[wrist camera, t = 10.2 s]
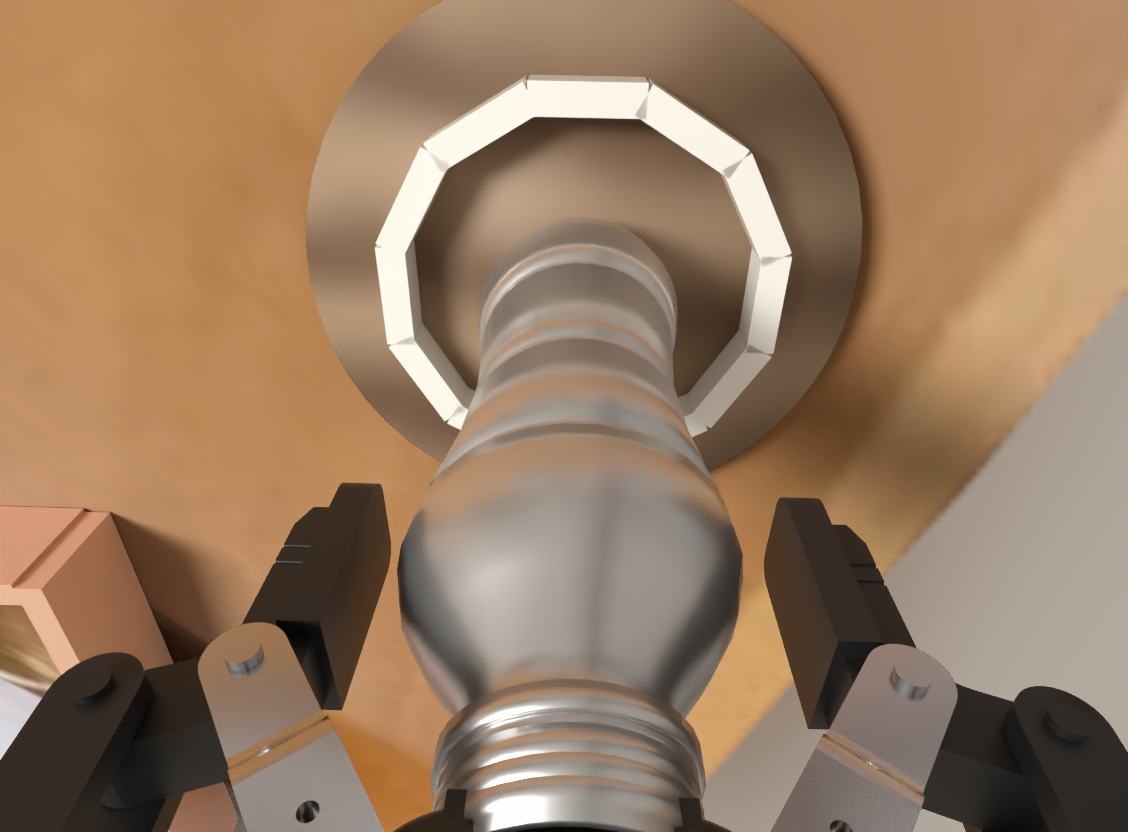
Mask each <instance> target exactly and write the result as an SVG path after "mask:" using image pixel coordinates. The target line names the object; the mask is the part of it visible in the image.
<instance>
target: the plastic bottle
mask: <svg viewBox="0 0 1128 832" xmlns="http://www.w3.org/2000/svg"><path fill="white" fill-rule="evenodd" d="M677 316H678V311H677V297H676V292H675V289H674V286H673V283H672V279H671V277H670V275H669V273H668V272H667V270H666V268H665V266H664V265H663V263H662V261H661V260H660V259H659V258H658V257H657V256H656V255H655V254H654V253H653V251H652V250H651V249H650V248H649V247H648V246H647V245H646V244H645V243H644V242H643V241H642V239H640V238H639V237H637V236H636V235H635V234H633V233H632V232H630V231H629V230H628V229H625V228H623V227H621V226H619V225H616V224H614V223H612V222H608V221H603V220H599V219H594V218H571V219H565V220H559V221H555V222H552V223H549V224H547V225H544V226H541V227H539V228H537V229H535V230H534V231H532V232H531V233H529V234H527V235H526V236H524V237H523V238H522V239H521V240H520V241H518V242H517V243H516V244H515V245H514V246H513V247H512V248H511V249H510V250H509V251H508V252H507V253H506V254H505V255H504V256H503V257H502V258H501V260H500V261H499V262H498V264H497V265H496V266H495V268H494V269H493V271H492V272H491V273H490V275H489V278H488V280H487V282H486V284H485V287H484V289H483V292H482V297H481V302H480V307H479V345H480V350H481V360H480V369H479V379H478V385H477V388H476V391H475V393H474V396H473V400H472V402H471V404H470V406H469V409H468V412H467V414H466V417H465V420H464V423H463V425H462V428H461V431H460V432H459V434H458V436H457V438H456V439H455V441H454V443H453V445H452V446H451V448H450V450H449V452H448V454H447V455H446V457H445V459H444V461H443V462H442V464H441V466H440V468H439V469H438V471H437V473H436V475H435V477H434V478H433V480H432V482H431V484H430V486H429V488H428V490H427V491H426V492H425V494H424V496H423V498H422V500H421V502H420V504H419V506H418V509H417V511H416V513H415V515H414V517H413V520H412V522H411V525H410V527H409V529H408V532H407V534H406V536H405V539H404V541H403V543H402V545H401V550H400V556H399V562H398V568H397V575H398V589H399V603H400V614H401V623H402V630H403V632H404V635H405V638H406V640H407V643H408V645H409V648H410V650H411V652H412V654H413V656H414V658H415V660H416V662H417V664H418V666H419V668H420V670H421V672H422V674H423V676H424V678H425V680H426V682H427V683H428V685H429V687H430V689H431V690H432V692H433V693H434V695H435V696H436V697H437V699H438V700H439V702H440V703H441V705H442V706H443V707H444V709H445V710H446V712H447V713H448V715H449V716H450V717H451V720H449V721H448V723H447V724H446V726H445V728H444V729H443V731H442V732H441V734H440V735H439V738H438V742H437V746H436V750H435V755H434V761H433V767H432V773H431V788H432V794H433V796H434V804H433V810H432V812H434V811H438V810H441V809H444V804H445V798H446V792H447V789H467V796H466V803H465V810H464V816H463V821H473V832H516V831H521V830H526V829H533V828H547V827H589V828H596V829H604V830H611V831H618V832H674V829H683V823H682V817H681V811H680V805H679V797H683V798H699V800H700V807H701V815H702V819H704V820H705V817H704V811H703V805H702V798H703V795H704V791H705V788H706V781H705V770H704V764H703V758H702V752H701V747H700V742H699V740H698V738H697V736H696V733H695V731H694V729H693V728H692V726H691V725H690V724H689V723H688V722H687V721H686V719H685V718H686V717H687V715H688V714H689V712H690V711H691V710H692V708H693V707H694V705H695V704H696V703H697V701H698V700H699V698H700V697H701V696H702V694H703V692H704V691H705V689H706V687H707V685H708V684H709V682H710V680H711V678H712V676H713V674H714V673H715V671H716V669H717V667H718V665H719V663H720V661H721V659H722V657H723V655H724V653H725V651H726V649H727V647H728V645H729V643H730V642H731V640H732V637H733V633H734V630H735V626H736V622H737V618H738V613H739V606H740V598H741V591H742V584H743V554H742V551H741V548H740V545H739V542H738V538H737V535H736V532H735V529H734V527H733V524H732V522H731V519H730V517H729V514H728V511H727V508H726V505H725V502H724V500H723V498H722V497H721V495H720V493H719V491H718V488H717V486H716V484H715V482H714V480H713V478H712V476H711V475H710V473H709V471H708V469H707V467H706V465H705V463H704V461H703V459H702V457H701V455H700V453H699V451H698V449H697V447H696V445H695V443H694V441H693V439H692V437H691V435H690V433H689V431H688V429H687V426H686V423H685V419H684V416H683V413H682V410H681V407H680V404H679V400H678V397H677V394H676V390H675V387H674V380H673V356H672V354H673V350H674V346H675V339H676V332H677Z"/></svg>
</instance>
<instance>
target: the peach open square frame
mask: <svg viewBox="0 0 1128 832" xmlns="http://www.w3.org/2000/svg"><path fill="white" fill-rule="evenodd" d="M0 605H22V606H23V608H24V609H25V611H26V613H27V615H28V617H29V618H30V620H31V622H32V624H33V626H34V627H35V629H36V631H37V633H38V634H39V636H40V638H41V640H42V642H43V643H44V645H45V647H46V649H47V651H48V652H49V654H50V656H51V658H52V659H53V661H54V663H55V665H56V667H57V668H58V670H59V672H60V674H61V675H62V674H63V673H65V672H66V671H67V670H69V669H70V668H72V667H73V666H75V665H76V664H78V663H80V662H82V661H84V660H86V659H89V658H91V657H94V656H97V655H100V654H105V653H112V652H122V653H127V654H131V655H133V656H135V657H136V658H137V659H139V661H140V662H141V664H142V665H143V667H144V670H147V669H152V668H156V667H160V666H165V665H169V664H173V660H172V658H171V656H170V653H169V651H168V649H167V646H166V644H165V642H164V639H163V637H162V634H161V632H160V630H159V627H158V625H157V623H156V620H155V618H154V616H153V613H152V611H151V608H150V606H149V604H148V601H147V599H146V597H145V594H144V592H143V590H142V587H141V585H140V582H139V580H138V578H137V575H136V573H135V571H134V568H133V566H132V564H131V561H130V559H129V557H128V554H127V552H126V549H125V547H124V545H123V542H122V540H121V538H120V535H119V533H118V531H117V528H116V526H115V523H114V521H113V519H112V516H111V514H110V512H85V510H84V508H50V507H15V506H0ZM238 820H239V816H238V814H237V811H236V809H235V807H234V804H233V802H232V800H231V797H230V795H229V793H228V790H227V788H226V786H225V783H224V782H221V783H218V784H214V785H210V786H207V787H203V788H200V789H196V790H192V791H189V792H185V793H184V795H183V797H182V800H181V802H180V805H179V807H178V809H177V812H176V814H175V816H174V819H173V821H172V823H171V826H170V828H169V830H168V832H234V829H235V827H236V824H237V822H238Z"/></svg>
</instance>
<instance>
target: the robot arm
mask: <svg viewBox="0 0 1128 832" xmlns="http://www.w3.org/2000/svg"><path fill="white" fill-rule="evenodd" d="M390 556H391V540H390V533H389V527H388V520H387V514H386V508H385V501H384V495H383V490H382V487H381V485H380V484H370V483H342V484H341V485H340V486H339V488H338V490H337V492H336V494H335V496H334V498H333V500H332V502H331V504H330V506H329V507H314V508H312V509H311V510H310V511H309V512H308V513H307V514H306V515H304V516H303V517H302V518H301V519H300V520H299V521H298V522H296V523H295V524H294V526H293V528H292V530H291V532H290V534H289V536H288V538H287V539H286V541H285V543H284V548H282V549H281V551H280V553H279V555H278V557H277V558H276V563H275V564H273V566H272V568H271V570H270V572H269V574H268V576H267V577H266V579H265V581H264V583H263V585H262V587H261V589H260V591H259V593H258V595H257V596H256V598H255V600H254V602H253V604H252V606H251V608H250V610H249V612H248V614H247V616H246V617H245V619H244V621H243V623H242V625H240V626H237V627H234V628H232V629H230V630H228V631H226V632H224V633H223V634H221V635H220V636H218V637H217V638H216V639H215V640H213V641H212V642H211V643H210V644H209V645H208V646H207V648H206V649H205V651H204V652H203V654H202V656H199V657H197V658H194V659H190V660H186V661H182V662H178V663H173V664H169V665H165V666H160V667H156V668H152V669H147V670H144V667H143V665H142V664H141V662H140V661H139V659H137V658H136V657H135V656H133V655H131V654H127V653H122V652H112V653H105V654H100V655H97V656H94V657H91V658H89V659H86V660H84V661H82V662H80V663H78V664H76V665H75V666H73V667H72V668H70V669H69V670H67V671H66V672H65V673H63V674H62V675H61V676H60V677H59V678H58V679H57V680H56V681H55V682H54V683H53V684H52V685H51V687H50V688H49V689H48V691H47V692H46V694H45V695H44V697H43V698H42V700H41V701H40V703H39V704H38V706H37V707H36V708H35V710H34V711H33V713H32V714H31V716H30V717H29V719H28V720H27V722H26V723H25V725H24V726H23V728H22V729H21V731H20V732H19V734H18V735H17V737H16V738H15V740H14V741H13V743H12V744H11V745H10V747H9V748H8V750H7V751H6V753H5V754H4V756H3V757H2V759H1V760H0V832H168V830H169V828H170V826H171V823H172V821H173V819H174V816H175V814H176V812H177V809H178V807H179V805H180V802H181V800H182V797H183V795H184V793H185V792H189V791H192V790H196V789H200V788H203V787H207V786H210V785H214V784H218V783H221V782H225V781H228V780H230V781H231V784H232V787H233V791H234V794H235V797H236V800H237V803H238V806H239V809H240V812H241V815H242V819H243V822H244V825H245V828H246V831H247V832H384V830H383V827H382V825H381V823H380V821H379V819H378V817H377V815H376V813H375V811H374V809H373V807H372V804H371V802H370V800H369V798H368V796H367V794H366V792H365V790H364V788H363V786H362V784H361V782H360V779H359V777H358V775H357V773H356V771H355V769H354V767H353V765H352V763H351V761H350V759H349V757H348V754H347V752H346V750H345V748H344V746H343V744H342V742H341V740H340V738H339V736H338V734H337V731H336V729H335V727H334V725H333V724H332V722H331V720H330V718H329V717H328V716H326V717H325V716H324V714H323V712H322V710H342V708H343V705H344V702H345V699H346V696H347V693H348V690H349V687H350V684H351V681H352V678H353V675H354V672H355V669H356V666H357V663H358V660H359V657H360V654H361V651H362V648H363V645H364V642H365V639H366V636H367V633H368V629H369V626H370V623H371V620H372V617H373V614H374V611H375V608H376V605H377V602H378V599H379V596H380V593H381V590H382V587H383V584H384V581H385V578H386V575H387V572H388V568H389V563H390ZM764 574H765V581H766V586H767V589H768V593H769V596H770V599H771V603H772V606H773V610H774V613H775V617H776V620H777V623H778V627H779V630H780V634H781V637H782V641H783V644H784V648H785V651H786V654H787V658H788V661H789V665H790V668H791V672H792V675H793V678H794V682H795V685H796V688H797V692H798V696H799V699H800V702H801V706H802V709H803V713H804V716H805V719H806V723H807V726H808V729H829V731H828V732H827V734H823V736H822V738H821V739H820V741H819V742H818V744H817V746H816V748H815V750H814V752H813V753H812V755H811V757H810V759H809V761H808V763H807V765H806V767H805V768H804V770H803V772H802V774H801V776H800V778H799V780H798V782H797V783H796V785H795V787H794V789H793V791H792V793H791V795H790V797H789V798H788V800H787V802H786V804H785V806H784V808H783V810H782V812H781V813H780V815H779V817H778V819H777V821H776V823H775V825H774V827H773V828H772V830H771V832H913V829H914V827H915V824H916V821H917V818H918V816H919V813H920V810H921V808H922V809H925V810H928V811H931V812H934V813H937V814H939V815H942V816H945V817H948V818H951V819H954V820H956V821H959V822H962V823H963V825H964V828H965V830H966V832H1128V752H1127V751H1126V749H1125V748H1124V746H1123V744H1122V743H1121V741H1120V740H1119V738H1118V736H1117V735H1116V733H1115V732H1114V730H1113V729H1112V727H1111V726H1110V724H1109V723H1108V722H1107V721H1106V719H1105V718H1104V717H1103V716H1102V715H1101V714H1100V713H1099V712H1098V711H1096V710H1095V709H1094V708H1093V707H1091V706H1090V705H1089V704H1087V703H1086V702H1084V701H1082V700H1081V699H1079V698H1078V697H1076V696H1074V695H1072V694H1070V693H1067V692H1065V691H1062V690H1059V689H1055V688H1052V687H1045V686H1034V687H1029V688H1026V689H1024V690H1023V691H1021V692H1020V693H1019V694H1018V696H1017V697H1016V699H1015V700H1014V702H1012V701H1009V700H1005V699H1002V698H998V697H995V696H992V695H989V694H985V693H982V692H978V691H975V690H972V689H969V688H966V687H963V686H961V685H959V684H957V683H955V682H954V680H953V678H952V676H951V675H950V673H949V672H948V671H947V670H946V668H945V667H944V666H943V665H942V664H940V663H939V662H938V661H937V660H936V659H934V658H933V657H931V656H930V655H928V654H926V653H925V652H923V651H921V650H918V649H917V648H916V646H915V644H914V642H913V640H912V638H911V636H910V634H909V632H908V630H907V627H906V625H905V623H904V621H903V619H902V617H901V615H900V613H899V611H898V609H897V607H896V605H895V603H894V601H893V599H892V597H891V595H890V592H889V590H888V588H887V586H884V580H883V578H882V576H881V574H880V572H879V570H878V568H876V564H875V562H874V559H873V557H872V555H871V553H870V551H869V549H868V547H867V545H866V543H865V542H864V541H863V540H861V539H860V538H859V537H858V536H857V535H856V534H855V533H854V532H853V531H852V530H851V529H850V528H849V527H848V526H847V525H832V524H831V521H830V519H829V517H828V515H827V512H826V510H825V508H824V505H823V503H822V502H821V500H819V499H814V498H780V499H779V500H778V502H777V505H776V509H775V514H774V518H773V522H772V526H771V531H770V535H769V539H768V543H767V547H766V552H765V558H764ZM466 796H467V789H447V792H446V798H445V804H444V809H441V810H438V811H434V812H431V813H428V814H425V815H423V816H420V817H418V818H416V819H414V820H412V821H410V822H408V823H406V824H404V825H402V826H401V827H399V828H398V829H396V830H395V831H393V832H473V821H463V816H464V810H465V803H466ZM679 805H680V811H681V817H682V823H683V829H674V832H731V831H730V830H728V829H726V828H724V827H722V826H719V825H717V824H715V823H713V822H710V821H707V820H704V819H702V815H701V807H700V800H699V798H683V797H679ZM516 832H618V831H611V830H604V829H596V828H589V827H547V828H533V829H526V830H521V831H516Z"/></svg>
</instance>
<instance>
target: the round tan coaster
mask: <svg viewBox="0 0 1128 832" xmlns="http://www.w3.org/2000/svg"><path fill="white" fill-rule="evenodd" d="M530 75H575V76H624V77H645V78H646V79H647V81H648V80H649V78H650V79H651V80H653V81H654V82H655V83H657V84H658V85H660V86H661V87H663V88H664V89H666V90H667V91H669V92H670V93H671V94H673V95H674V96H676V97H677V98H679V99H680V100H682V101H683V102H684V103H686V104H687V105H689V106H690V107H692V108H693V109H695V110H696V111H698V112H699V113H700V114H702V115H703V116H705V117H706V118H708V119H709V120H711V121H712V122H713V123H715V124H716V125H718V126H719V127H721V128H722V129H724V130H725V131H727V132H728V133H729V134H731V135H732V136H734V137H735V138H737V139H738V140H740V141H741V142H742V143H743V144H744V145H745V146H746V147H747V148H748V149H749V150H750V152H751V153H752V154H753V157H754V159H755V162H756V164H757V167H758V169H759V172H760V174H761V177H762V179H763V182H764V184H765V187H766V189H767V192H768V194H769V197H770V200H771V202H772V205H773V207H774V210H775V212H776V215H777V217H778V220H779V222H780V225H781V227H782V230H783V232H784V235H785V237H786V240H787V242H788V245H789V247H790V250H791V254H790V255H791V257H792V261H791V266H790V271H789V276H788V281H787V286H786V292H785V297H784V302H783V307H782V312H781V317H780V322H779V327H778V333H777V338H776V343H775V348H774V353H773V354H770V355H771V357H772V358H771V359H770V360H769V361H768V362H767V363H766V365H765V366H764V367H763V368H762V369H761V370H760V372H759V373H758V374H757V375H756V376H755V377H754V379H753V380H752V381H751V382H750V383H749V384H748V386H747V387H746V388H745V389H744V390H743V391H742V393H741V394H740V395H739V396H738V397H737V398H736V400H735V401H734V402H733V403H732V404H731V405H730V407H729V408H728V409H727V410H726V411H725V412H724V414H723V415H722V416H721V417H720V418H719V419H718V421H717V422H716V423H715V424H714V425H713V426H712V428H710V427H708V426H707V429H708V431H705V432H703V433H701V434H698V435H696V436H694V437H692V439H693V441H694V443H695V445H696V447H697V449H698V451H699V453H700V455H701V457H702V459H703V461H704V463H705V465H706V467H707V469H708V471H710V470H712V469H714V468H716V467H718V466H720V465H722V464H723V463H725V462H726V461H728V460H730V459H731V458H733V457H735V456H736V455H738V454H740V453H741V452H743V451H744V450H746V449H747V448H748V447H750V446H751V445H752V444H754V443H755V442H756V441H757V440H759V439H760V438H761V437H763V436H764V435H765V434H767V433H768V432H769V431H770V430H771V429H772V428H773V427H774V426H775V425H776V424H777V423H778V422H779V421H781V420H782V419H783V418H784V417H785V416H786V415H787V414H788V413H789V412H790V411H791V410H792V409H793V408H794V406H795V405H796V404H797V403H798V401H799V400H800V399H801V398H802V396H803V395H804V394H805V393H806V392H807V390H808V389H809V388H810V387H811V385H812V384H813V383H814V381H815V379H816V378H817V376H818V375H819V373H820V371H821V370H822V368H823V367H824V365H825V364H826V362H827V360H828V359H829V357H830V355H831V353H832V351H833V349H834V347H835V345H836V343H837V341H838V338H839V336H840V334H841V332H842V330H843V328H844V325H845V322H846V319H847V316H848V313H849V310H850V307H851V304H852V301H853V297H854V294H855V290H856V284H857V279H858V273H859V268H860V262H861V249H862V226H863V221H862V211H861V201H860V191H859V184H858V180H857V176H856V172H855V167H854V163H853V159H852V155H851V151H850V148H849V145H848V143H847V141H846V138H845V136H844V133H843V131H842V128H841V126H840V124H839V121H838V119H837V116H836V114H835V112H834V110H833V108H832V107H831V105H830V103H829V102H828V100H827V98H826V97H825V95H824V93H823V92H822V90H821V88H820V87H819V85H818V83H817V82H816V80H815V78H814V77H813V76H812V75H811V73H810V72H809V71H808V70H807V69H806V67H805V66H804V65H803V64H802V63H801V61H800V60H799V59H798V58H797V57H796V55H795V54H794V53H793V52H792V51H791V49H790V48H789V47H788V46H787V45H786V44H785V43H784V42H783V41H781V40H780V39H779V38H778V37H777V36H776V35H775V34H773V33H772V32H771V31H770V30H769V29H768V28H767V27H765V26H764V25H763V24H762V23H761V22H760V21H759V20H758V19H756V18H755V17H753V16H752V15H750V14H749V13H747V12H746V11H744V10H742V9H741V8H739V7H738V6H736V5H735V4H733V3H731V2H730V1H728V0H444V1H442V2H440V3H438V4H437V5H435V6H433V7H431V8H430V9H428V10H426V11H425V12H423V13H422V14H421V15H419V16H418V17H417V18H416V19H414V20H413V21H412V22H411V23H410V24H408V25H407V26H406V27H405V28H403V29H402V30H401V31H400V32H398V33H397V34H396V35H395V36H393V37H392V38H391V39H390V40H389V41H388V42H387V43H386V44H385V46H384V47H383V48H382V49H381V50H380V51H379V52H378V53H377V54H376V55H375V56H374V57H373V59H372V60H371V61H370V62H369V63H368V64H367V65H366V66H365V67H364V68H363V70H362V71H361V73H360V74H359V76H358V77H357V79H356V80H355V82H354V83H353V85H352V86H351V88H350V89H349V91H348V92H347V94H346V95H345V96H344V98H343V99H342V101H341V103H340V105H339V107H338V109H337V111H336V113H335V115H334V117H333V119H332V121H331V124H330V126H329V128H328V130H327V132H326V134H325V136H324V139H323V142H322V145H321V148H320V152H319V155H318V158H317V161H316V165H315V168H314V171H313V175H312V181H311V187H310V194H309V200H308V206H307V233H306V248H307V256H308V265H309V273H310V281H311V285H312V289H313V293H314V297H315V301H316V305H317V309H318V312H319V315H320V318H321V320H322V323H323V325H324V328H325V330H326V333H327V335H328V338H329V340H330V343H331V345H332V347H333V349H334V351H335V352H336V354H337V356H338V358H339V360H340V361H341V363H342V365H343V367H344V369H345V371H346V372H347V374H348V375H349V377H350V378H351V379H352V381H353V382H354V384H355V385H356V386H357V388H358V389H359V391H360V392H361V393H362V395H363V396H364V398H365V399H366V400H367V401H368V402H369V403H370V404H371V405H372V406H373V408H374V409H375V410H376V411H377V412H378V413H379V414H380V415H381V416H382V417H383V418H384V420H385V421H386V422H387V423H389V424H390V425H391V426H392V427H393V428H394V429H396V430H397V431H398V432H399V433H400V434H401V435H402V436H404V437H405V438H406V439H407V440H408V441H409V442H411V443H412V444H414V445H415V446H417V447H418V448H419V449H421V450H422V451H424V452H425V453H427V454H428V455H429V456H431V457H432V458H434V459H436V460H437V461H439V462H441V463H442V462H443V461H444V459H445V457H446V455H447V454H448V452H449V450H450V448H451V446H452V445H453V443H454V441H455V439H456V438H457V436H458V434H459V432H460V431H461V430H459V429H457V428H455V427H453V426H451V425H449V424H447V423H448V420H446V421H444V420H443V419H442V417H441V416H440V415H439V413H438V412H437V411H436V409H435V408H434V407H433V405H432V404H431V403H430V401H429V400H428V399H427V397H426V396H425V395H424V394H423V392H422V391H421V390H420V388H419V387H418V386H417V384H416V383H415V382H414V380H413V379H412V378H411V376H410V375H409V374H408V372H407V371H406V370H405V368H404V367H403V366H402V364H401V363H400V362H399V360H398V359H397V358H396V356H395V355H394V354H393V353H392V351H391V350H390V349H389V346H390V345H391V344H387V338H386V330H385V322H384V315H383V307H382V300H381V292H380V284H379V277H378V269H377V261H376V254H375V247H376V245H377V244H375V243H376V241H377V239H378V237H379V234H380V232H381V230H382V228H383V226H384V224H385V222H386V219H387V217H388V215H389V213H390V211H391V209H392V206H393V204H394V202H395V200H396V198H397V196H398V193H399V191H400V189H401V187H402V185H403V183H404V181H405V178H406V176H407V174H408V172H409V170H410V168H411V165H412V163H413V161H414V159H415V157H416V155H417V153H418V150H419V148H420V146H421V145H422V144H423V143H424V142H425V141H426V140H427V139H428V138H429V137H430V136H431V135H432V134H434V133H435V132H437V131H438V130H440V129H442V128H443V127H445V126H446V125H448V124H450V123H451V122H453V121H454V120H456V119H458V118H459V117H461V116H462V115H464V114H466V113H467V112H469V111H470V110H472V109H474V108H475V107H477V106H478V105H480V104H482V103H483V102H485V101H486V100H488V99H490V98H491V97H493V96H495V95H496V94H498V93H499V92H501V91H503V90H504V89H506V88H507V87H509V86H511V85H512V84H514V83H515V82H517V81H519V80H520V79H522V78H523V77H525V76H526V77H527V79H528V78H529V76H530ZM571 218H594V219H599V220H603V221H608V222H612V223H614V224H616V225H619V226H621V227H623V228H625V229H628V230H629V231H630V232H632V233H633V234H635V235H636V236H637V237H639V238H640V239H642V241H643V242H644V243H645V244H646V245H647V246H648V247H649V248H650V249H651V250H652V251H653V253H654V254H655V255H656V256H657V257H658V258H659V259H660V260H661V261H662V263H663V265H664V266H665V268H666V270H667V272H668V273H669V275H670V277H671V279H672V283H673V286H674V289H675V292H676V297H677V311H678V316H677V332H676V339H675V346H674V350H673V354H672V356H673V380H674V387H675V390H676V394H677V397H678V398H679V397H681V396H683V395H685V394H688V393H689V391H690V390H691V389H692V388H693V386H694V385H695V384H696V383H697V382H698V380H699V379H700V378H701V377H702V375H703V374H704V373H705V372H706V370H707V369H708V368H709V367H710V365H711V364H712V363H713V362H714V360H715V359H716V358H717V357H718V356H719V354H720V353H721V352H722V351H723V349H724V348H725V347H726V346H727V344H728V343H729V342H730V341H731V339H732V338H733V337H734V336H735V335H736V333H737V332H738V331H739V325H740V319H741V313H742V307H743V300H744V294H745V288H746V282H747V276H748V270H749V264H750V257H751V251H752V247H751V244H750V242H749V239H748V237H747V235H746V232H745V230H744V228H743V225H742V223H741V221H740V218H739V216H738V214H737V211H736V209H735V207H734V204H733V202H732V199H731V197H730V195H729V192H728V190H727V188H726V185H725V183H724V181H723V178H722V176H721V174H720V172H718V171H717V170H715V169H714V168H712V167H711V166H709V165H708V164H706V163H705V162H703V161H702V160H700V159H699V158H697V157H696V156H694V155H693V154H691V153H690V152H688V151H687V150H685V149H684V148H682V147H681V146H679V145H678V144H676V143H675V142H673V141H672V140H670V139H669V138H668V137H666V136H665V135H663V134H662V133H660V132H659V131H657V130H656V129H654V128H653V127H651V126H650V125H648V124H647V123H645V122H644V121H642V120H641V119H616V118H569V117H533V118H531V119H529V120H528V121H526V122H524V123H523V124H521V125H519V126H518V127H516V128H514V129H513V130H511V131H509V132H508V133H506V134H504V135H503V136H501V137H500V138H498V139H496V140H495V141H493V142H491V143H490V144H488V145H486V146H485V147H483V148H481V149H480V150H478V151H476V152H475V153H473V154H471V155H470V156H468V157H466V158H465V159H463V160H461V161H460V162H458V163H456V164H455V165H453V166H451V167H450V168H449V170H448V172H447V174H446V176H445V178H444V180H443V182H442V184H441V186H440V188H439V190H438V192H437V195H436V197H435V199H434V201H433V203H432V205H431V207H430V209H429V211H428V213H427V215H426V217H425V219H424V221H423V223H422V225H421V227H420V229H419V231H418V233H417V235H416V237H415V239H414V244H415V254H416V264H417V274H418V284H419V294H420V304H421V314H422V323H423V324H424V326H425V327H426V329H427V330H428V331H429V333H430V334H431V336H432V337H433V338H434V340H435V341H436V343H437V344H438V345H439V347H440V348H441V350H442V351H443V352H444V354H445V355H446V357H447V358H448V359H449V361H450V362H451V364H452V365H453V366H454V368H455V369H456V371H457V372H458V373H459V375H460V376H461V378H462V379H463V380H464V382H465V383H466V385H467V386H468V387H469V388H470V389H472V390H474V391H476V388H477V385H478V379H479V369H480V360H481V350H480V345H479V307H480V302H481V297H482V292H483V289H484V287H485V284H486V282H487V280H488V278H489V275H490V273H491V272H492V271H493V269H494V268H495V266H496V265H497V264H498V262H499V261H500V260H501V258H502V257H503V256H504V255H505V254H506V253H507V252H508V251H509V250H510V249H511V248H512V247H513V246H514V245H515V244H516V243H517V242H518V241H520V240H521V239H522V238H523V237H524V236H526V235H527V234H529V233H531V232H532V231H534V230H535V229H537V228H539V227H541V226H544V225H547V224H549V223H552V222H555V221H559V220H565V219H571Z"/></svg>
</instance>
